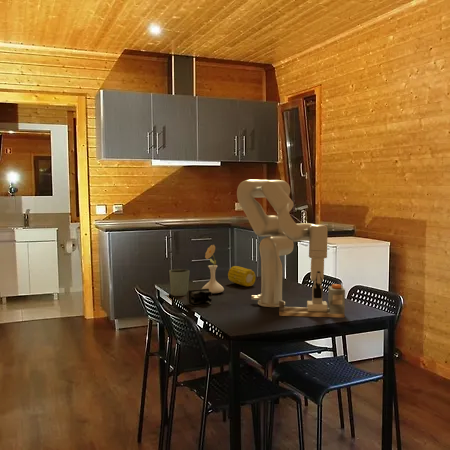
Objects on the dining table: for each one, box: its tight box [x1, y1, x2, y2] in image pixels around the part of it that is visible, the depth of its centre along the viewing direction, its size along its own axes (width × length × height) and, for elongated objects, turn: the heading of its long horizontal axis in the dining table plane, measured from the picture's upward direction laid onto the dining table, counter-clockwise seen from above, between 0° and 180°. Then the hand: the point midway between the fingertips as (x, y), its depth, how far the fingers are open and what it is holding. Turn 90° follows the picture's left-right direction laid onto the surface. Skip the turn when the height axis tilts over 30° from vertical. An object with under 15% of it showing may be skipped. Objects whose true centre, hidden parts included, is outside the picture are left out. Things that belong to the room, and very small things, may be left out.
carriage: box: [306, 285, 328, 311], centre depth 218 cm, size 8×7×10 cm
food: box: [227, 265, 257, 288], centre depth 283 cm, size 15×12×10 cm
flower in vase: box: [201, 244, 225, 294], centre depth 261 cm, size 13×11×25 cm
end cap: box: [186, 288, 213, 307], centre depth 237 cm, size 10×7×7 cm
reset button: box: [331, 283, 343, 289], centre depth 217 cm, size 4×4×1 cm
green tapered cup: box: [168, 268, 191, 297], centre depth 258 cm, size 10×10×12 cm
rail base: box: [278, 285, 346, 318], centre depth 218 cm, size 27×8×12 cm, turn 84°
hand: (317, 296), depth 218 cm, fingers open, 4 cm apart
